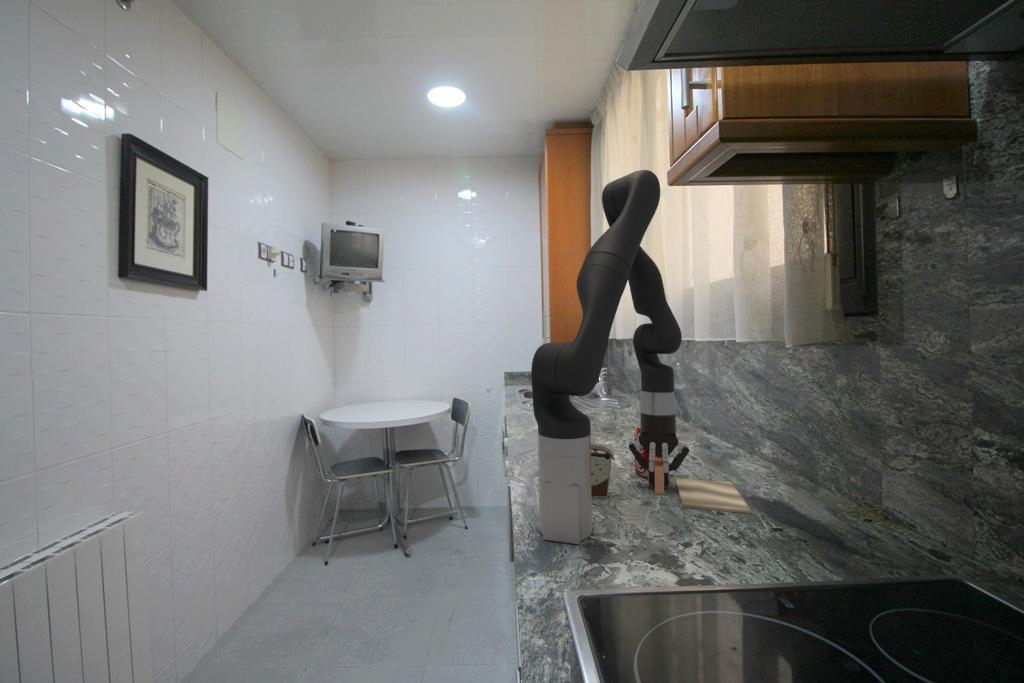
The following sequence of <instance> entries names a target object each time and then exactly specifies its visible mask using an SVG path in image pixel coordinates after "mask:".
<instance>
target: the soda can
mask: <svg viewBox="0 0 1024 683" xmlns="http://www.w3.org/2000/svg"><path fill="white" fill-rule="evenodd" d="M636 427H637V428H636V429H635V431H634V438H633V439H634V440H633V442H634V441H636V440H638V439H639V435H640V433H641V423H640V424H637V425H636ZM639 446H640V450H639V452H640V454H641V455H642V457H643V458H644V460H645V461H646V462H648V463H649V454H648V453H647V452H646V451H645V449H644V448H643V447H642V445H641V444H640V445H639ZM655 458H661V459H662V457H661V456H655ZM634 470H635V473H637V474H638V475H639V476H640V477H643V478H648V479H649V471H648V470H647V469H645V468H641V466H640V465H639V463H638V461H637V460H636V458H635V457H634Z"/></svg>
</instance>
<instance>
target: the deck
mask: <svg viewBox="0 0 1024 683" xmlns="http://www.w3.org/2000/svg"><path fill="white" fill-rule="evenodd" d="M654 469H655V470H654V472H655V488H654V493H655V495H656V494H658V495H665V489H664V467H663V463H662V459H661V458H655V465H654Z"/></svg>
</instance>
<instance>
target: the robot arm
mask: <svg viewBox="0 0 1024 683" xmlns="http://www.w3.org/2000/svg"><path fill="white" fill-rule="evenodd" d="M660 199H661V185H660V180H659V178H658V176H657V175H656V173H655V172H653V171H652V170H648V169H640V170H635V171H634V172H630V173H629V174H625V175H623V176H621V177H619V178H617V179H614V180H612V181H610V182H609V183H607V184H606V185H605V186H604V187H603V190H602V193H601V203H602V208H603V212H604V216H605V219H606V222H607V224H608V227H609V228H608V229H607V230H606V231H604V232H603V233H602V235H601V236H600V237H599V238H598V239H597V240H596V241H595V242H594V244H593V245H592V246H591V247H590V249H588V251H587V254H586V255H585V257H584V260H583V262H582V265H581V267H580V270H579V271H578V275H577V279H576V283H575V284H576V285H575V286H576V292H577V296H578V300H579V303H580V306H581V310H582V317H581V318H582V319H581V322H580V326H579V329H578V331H577V334H576V337H575V338H574V340H573V341H570V342H567V341H565V342H564V341H563V342H562V341H561V342H560V341H559V342H558V341H557V342H547V343H543V344H542V345H539V347H538V348H536V350H535V352H534V355H533V358H532V360H531V362H532V363H531V369H530V370H531V371H530V372H531V374H530V375H531V377H530V378H531V390H532V391H531V393H532V394H531V395H532V409H533V416H534V419H535V421H536V423H537V442H538V443H537V446H538V447H537V449H538V451H537V453H538V456H537V460H538V464H537V465H538V511H539V512H538V513H539V516H538V518H539V519H538V521H539V522H538V523H539V524H538V525H539V526H538V527H539V532H540V533H541V535H542V540H543V541H551V542H558V543H567V544H575V545H580V544H581V542H582V541H585V540H586V539H588V538H590V537H591V535H592V533H593V510H592V498H591V445H592V443H591V442H592V441H591V437H592V436H591V434H592V432H591V431H592V430H591V429H592V428H591V427H592V426H591V425H592V424H591V419H590V418H589V416H587V415H586V414H585V413H583V412H582V411H580V410H579V409H578V408H577V407H575V405H573V403H572V401H571V399H570V396H572V397H584V396H587V395H589V394H590V393H591V392H592V391H593V390H594V389H595V387H596V385H597V383H598V381H599V378H600V375H601V374H602V368H603V365H604V360H605V355H606V351H607V348H608V343H609V338H610V336H611V330H612V328H613V324H614V321H615V317H616V314H617V311H618V308H619V306H620V302H621V299H622V296H623V295H624V291H625V289H626V286H627V284H628V285H629V291H630V296H631V300H632V305H633V309H634V311H635V313H636V314H637V315H642V316H645V317H647V318H648V319H649V320H650V322H649V323H646V322H645V323H642V324H639V326H638V327H637V328H636V329H635V331H634V333H633V337H632V343H633V344H632V346H633V350H634V353H635V357H636V360H637V364H638V368H639V370H640V385H641V386H640V388H641V391H640V399H639V400H640V401H639V402H640V404H639V410H640V411H639V412H640V414H639V416H640V424H641V433H640V435H639V439H638V440H636V441H634V440H633V441H630V442H629V444H628V448H629V450H630V452H631V453H632V455H633V456H634V457H635V458H636V460H637V461H638V463H639V465H640V466H641V468H645V469H647V470H648V471H649V478H648V484H649V485H650V486H651V489H655V472H654V470H655V469H654V465H655V456H661V457H662V463H663V467H664V490H666V487H669V484H670V483H669V480H670V478H669V475H670V474H669V473H670V472H675V471H677V470H679V468H680V467H681V465H682V463H683V462H684V460H685V459H686V458H687V456H688V454H689V453H690V448H689V446H688V445H686V444H683V443H682V442H679V438H678V437H677V428H676V427H677V420H676V419H677V418H676V409H677V408H676V405H677V404H676V398H675V373H674V368H673V367H672V366H670V365H668V364H665V363H662V362H661V360H660V357H659V355H671V354H674V353H676V352H677V351H678V350H679V348H680V347H681V344H682V340H683V336H682V329H681V327H680V325H679V323H678V321H677V319H676V317H675V315H674V313H673V311H672V309H671V306H670V305H669V303H668V301H667V298H666V296H667V295H666V292H665V287H664V281H663V277H662V274H661V271H660V269H659V267H658V266H657V263H655V261H654V260H653V259H652V258H651V256H650V255H649V254H648V253H647V252H646V251H645V249H643V247H641V243H642V242H643V238H644V236H645V235H646V232H647V230H648V228H649V226H650V224H651V222H652V220H653V218H654V216H655V214H656V211H657V210H658V207H659V204H660ZM640 444H641V445H642V447H643V448H644V449H645V451H646V452H647V453H648V454H649V463H648V462H646V461H645V460H644V458H643V457H642V455H641V454H640V452H639V450H640V446H639V445H640ZM676 448H677V449H676ZM675 449H676V452H677V453H676V455H675V456H674V458H673V460H672V461H671V463H670V462H669V461H670V459H669V456H670V455H671V454H672V453H673V451H674V450H675ZM635 458H634V459H635Z"/></svg>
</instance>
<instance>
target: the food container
mask: <svg viewBox="0 0 1024 683" xmlns="http://www.w3.org/2000/svg"><path fill="white" fill-rule="evenodd" d="M614 456H615V455H614V453H613V450H612V449H610V448H609V447H605V446H602V445H597V444H591V499H592V498H595V499H599V498H601V499H602V498H603V499H604V498H605V499H608V498H609V492H610V491H609V490H610V481H611V480H610V478H611V469H612V460H613V461H615V457H614Z"/></svg>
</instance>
